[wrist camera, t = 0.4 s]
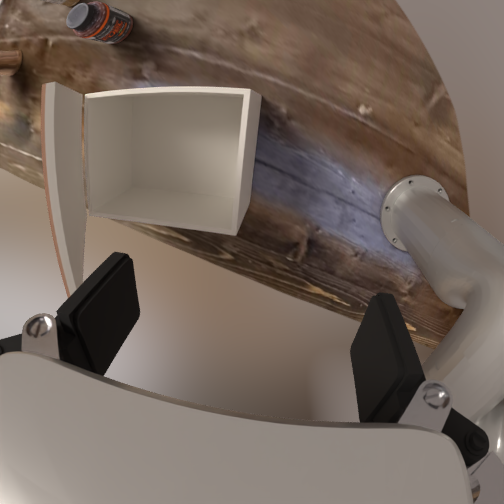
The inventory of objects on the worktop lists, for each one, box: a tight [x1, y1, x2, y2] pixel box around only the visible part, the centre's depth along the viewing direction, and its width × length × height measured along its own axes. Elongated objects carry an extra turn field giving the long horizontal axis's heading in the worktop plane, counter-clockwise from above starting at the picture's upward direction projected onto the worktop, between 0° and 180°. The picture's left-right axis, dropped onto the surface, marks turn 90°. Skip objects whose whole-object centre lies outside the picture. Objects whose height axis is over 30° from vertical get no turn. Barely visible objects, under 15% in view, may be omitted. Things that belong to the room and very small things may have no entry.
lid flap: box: [41, 82, 87, 298], centre depth 22 cm, size 20×16×1 cm
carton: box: [84, 87, 262, 236], centre depth 35 cm, size 20×16×12 cm
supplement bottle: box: [67, 1, 133, 44], centre depth 26 cm, size 6×6×11 cm
